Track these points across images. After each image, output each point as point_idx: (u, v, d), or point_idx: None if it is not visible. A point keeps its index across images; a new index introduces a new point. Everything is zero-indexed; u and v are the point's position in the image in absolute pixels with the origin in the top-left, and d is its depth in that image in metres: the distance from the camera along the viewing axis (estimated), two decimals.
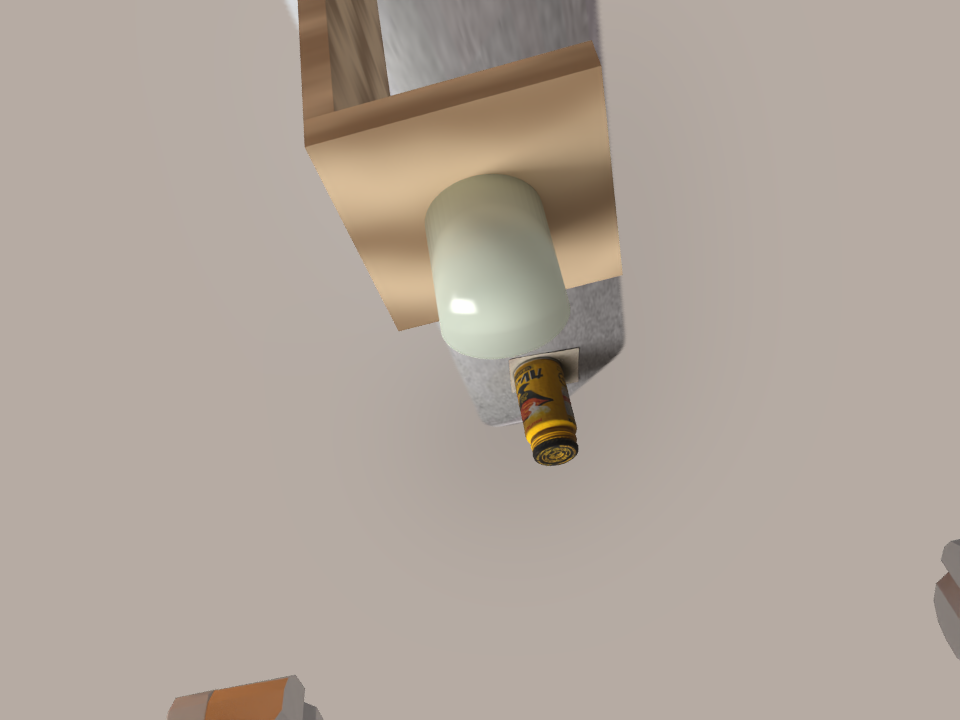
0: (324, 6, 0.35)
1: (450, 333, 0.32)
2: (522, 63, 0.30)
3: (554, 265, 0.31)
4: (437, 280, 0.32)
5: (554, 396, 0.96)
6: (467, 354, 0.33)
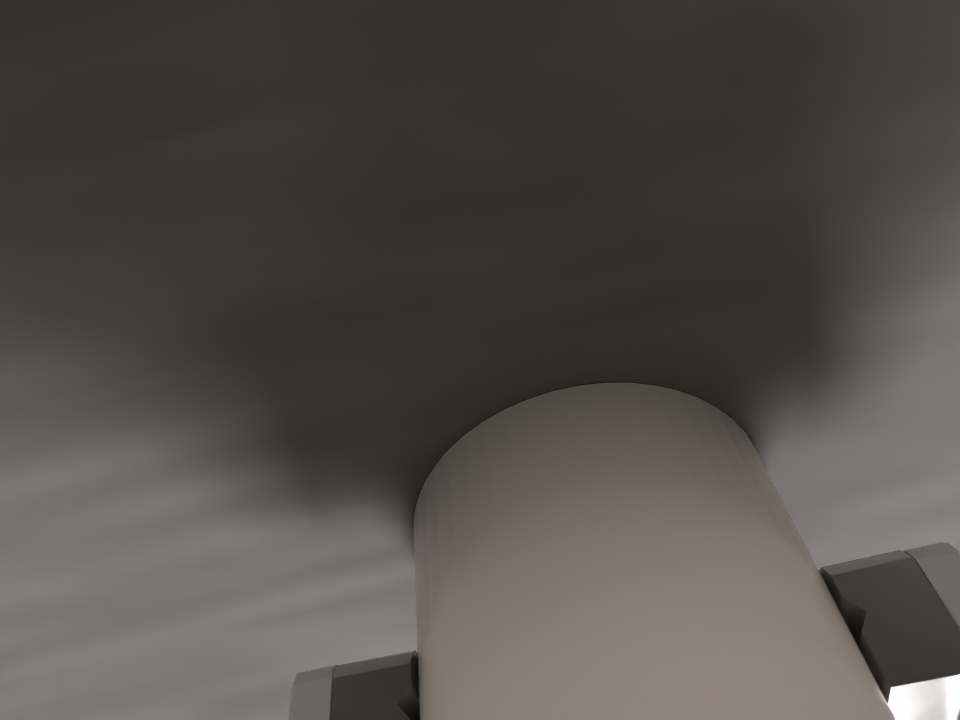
0: None
1: None
2: None
3: None
4: None
5: None
6: None
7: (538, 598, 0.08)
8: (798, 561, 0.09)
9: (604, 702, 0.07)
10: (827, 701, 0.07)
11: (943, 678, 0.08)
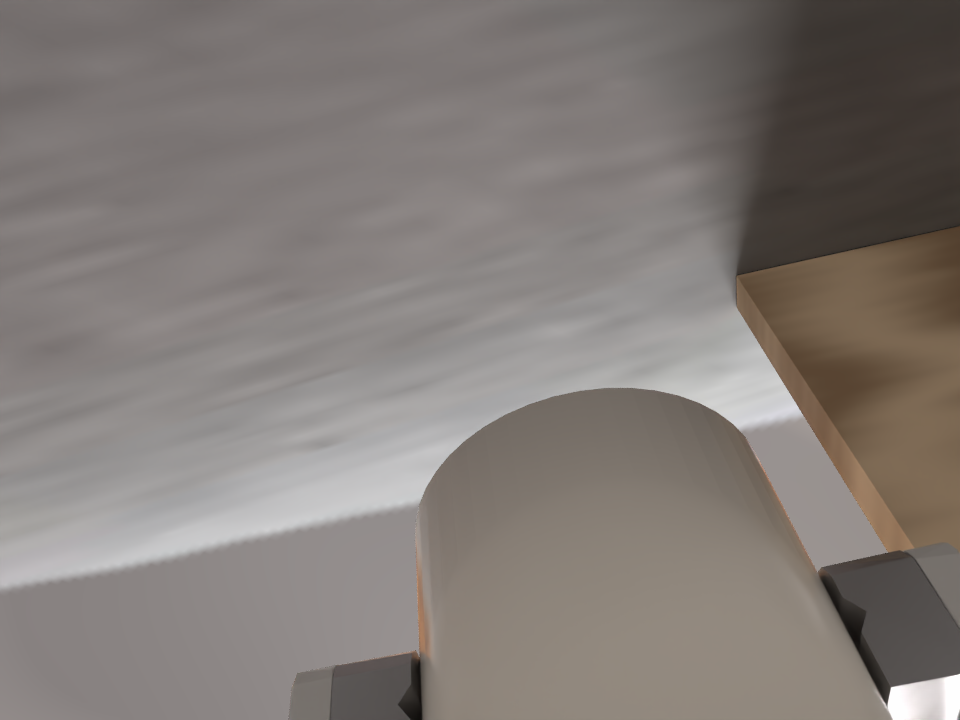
0: None
1: None
2: None
3: None
4: None
5: None
6: None
7: (539, 603, 0.08)
8: (798, 566, 0.09)
9: (605, 706, 0.07)
10: (827, 705, 0.07)
11: (943, 678, 0.08)
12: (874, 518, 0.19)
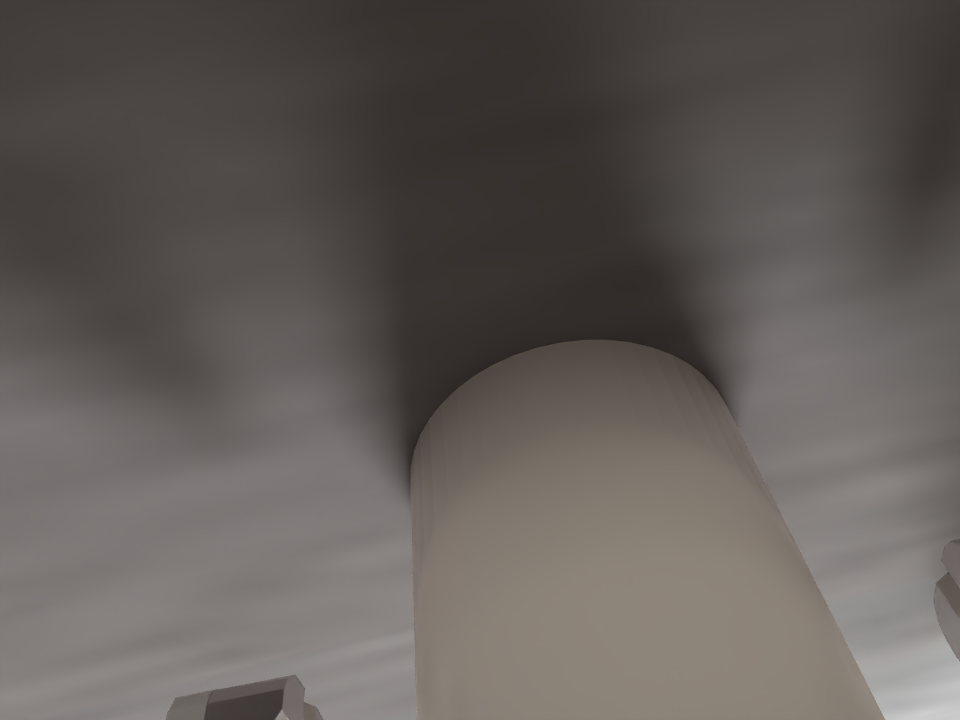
0: None
1: None
2: None
3: None
4: None
5: None
6: None
7: (520, 521, 0.09)
8: (756, 494, 0.10)
9: (574, 604, 0.08)
10: (772, 603, 0.08)
11: None
12: None
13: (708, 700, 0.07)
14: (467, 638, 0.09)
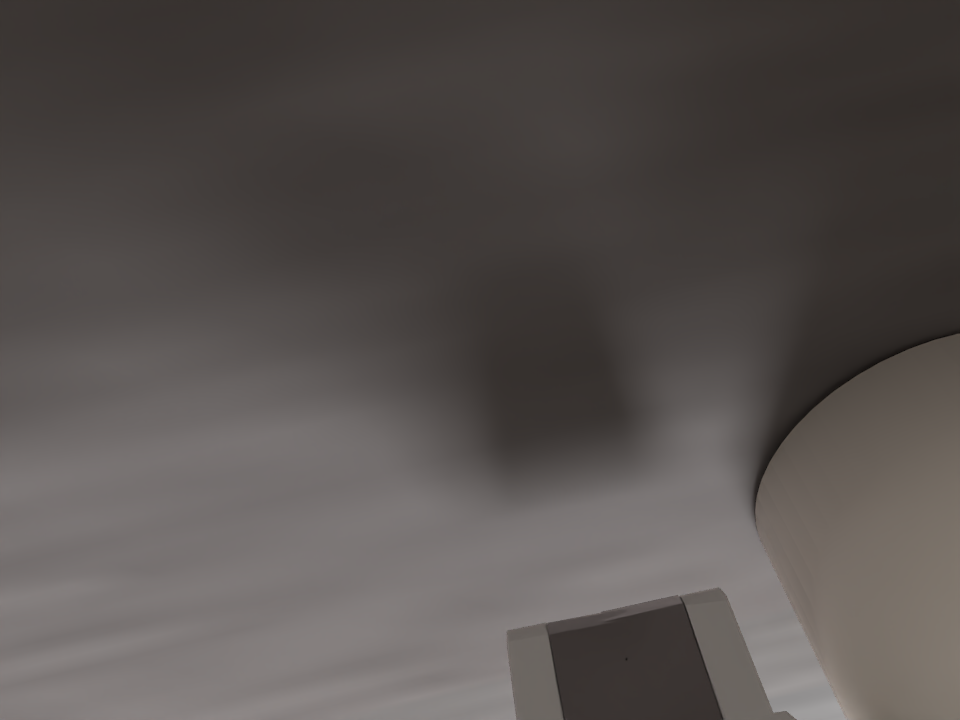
0: None
1: None
2: None
3: None
4: None
5: None
6: None
7: None
8: None
9: None
10: None
11: None
12: None
13: None
14: None
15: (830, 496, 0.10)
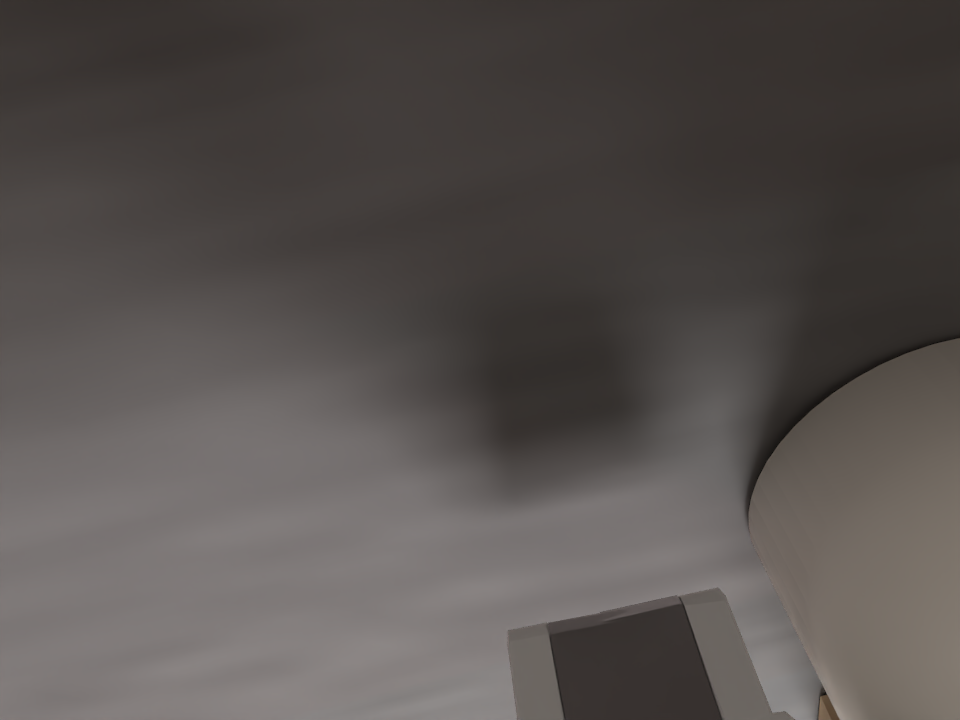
0: None
1: None
2: None
3: None
4: None
5: None
6: None
7: None
8: None
9: None
10: None
11: None
12: None
13: None
14: None
15: (829, 497, 0.10)
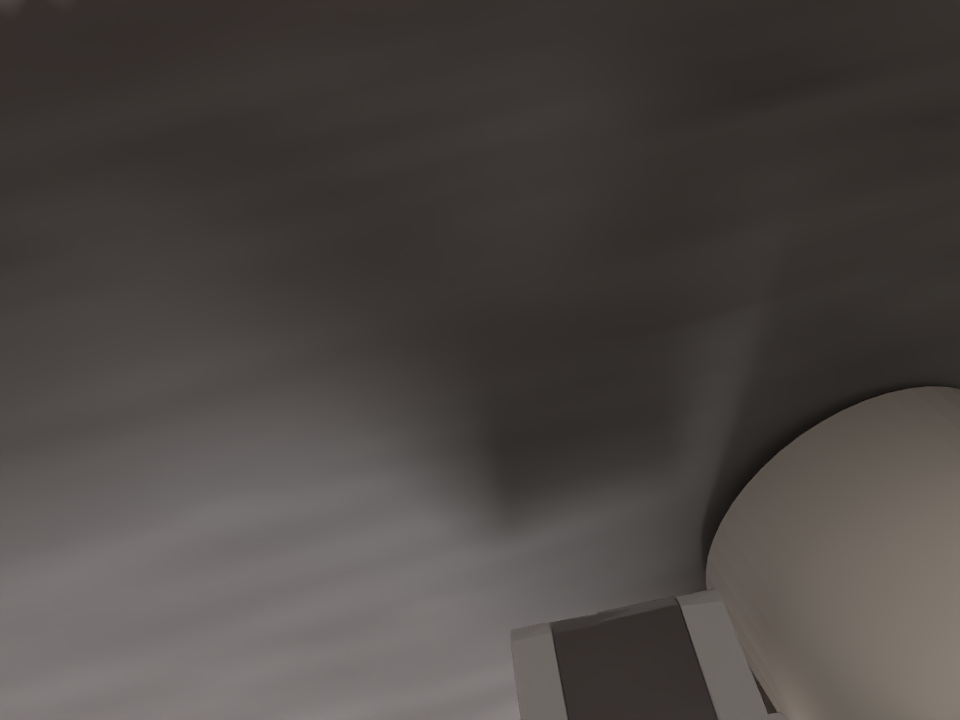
0: None
1: None
2: None
3: None
4: None
5: None
6: None
7: None
8: None
9: None
10: None
11: None
12: None
13: None
14: None
15: (824, 516, 0.10)
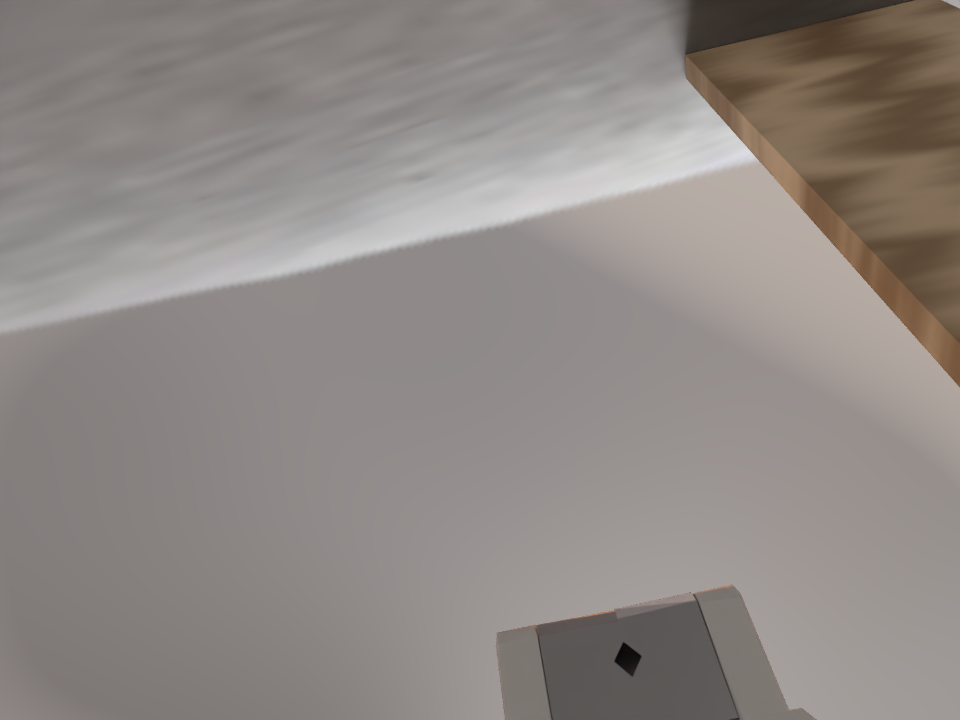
0: (918, 301, 0.23)
1: None
2: None
3: None
4: None
5: None
6: None
7: None
8: None
9: None
10: None
11: None
12: (750, 143, 0.34)
13: None
14: None
15: None
